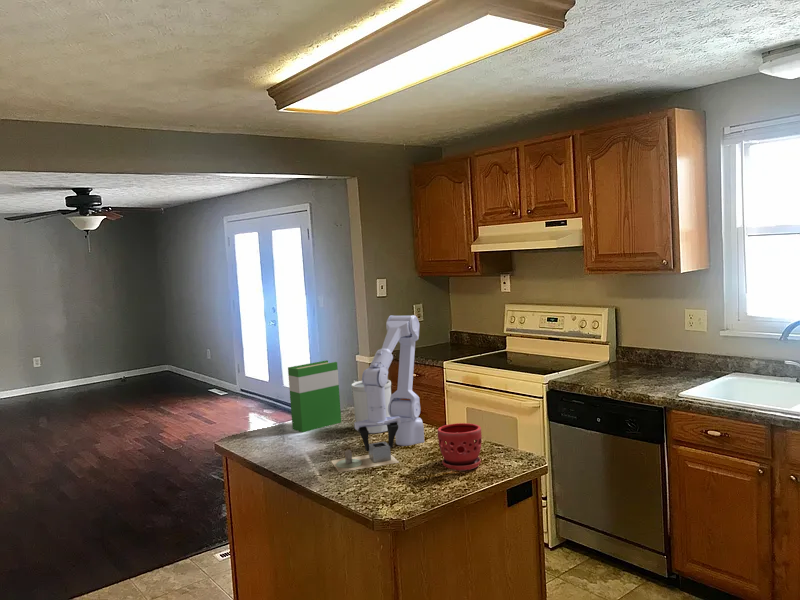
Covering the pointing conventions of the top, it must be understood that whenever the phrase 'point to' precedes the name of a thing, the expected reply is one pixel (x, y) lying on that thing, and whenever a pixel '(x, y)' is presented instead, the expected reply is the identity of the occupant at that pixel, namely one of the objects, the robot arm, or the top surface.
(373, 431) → the utensil holder
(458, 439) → the plant pot
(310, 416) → the hardback book
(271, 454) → the top surface
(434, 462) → the top surface
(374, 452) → the steel collar
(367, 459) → the board
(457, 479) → the top surface
